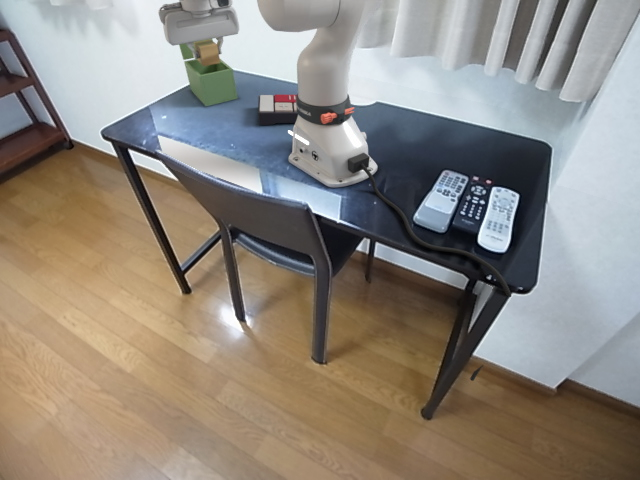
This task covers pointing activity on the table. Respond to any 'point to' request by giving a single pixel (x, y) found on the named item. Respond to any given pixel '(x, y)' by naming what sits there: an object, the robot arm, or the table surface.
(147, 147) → the table surface
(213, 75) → the chest
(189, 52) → the lid
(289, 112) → the black rectangular box
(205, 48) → the block
